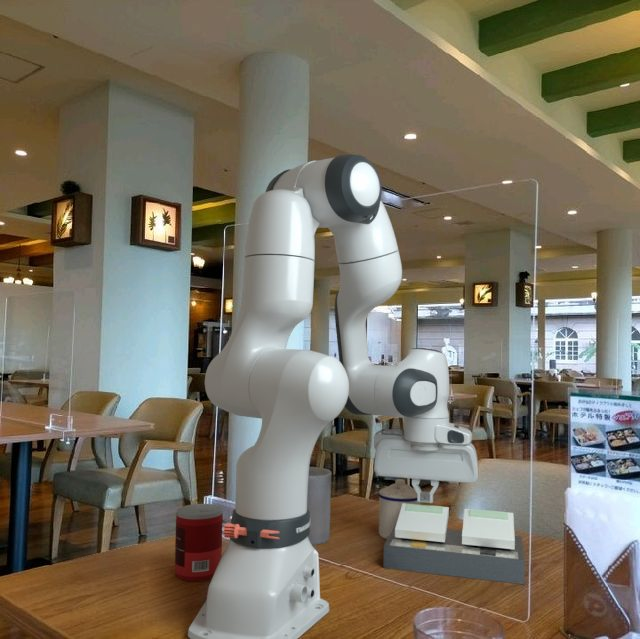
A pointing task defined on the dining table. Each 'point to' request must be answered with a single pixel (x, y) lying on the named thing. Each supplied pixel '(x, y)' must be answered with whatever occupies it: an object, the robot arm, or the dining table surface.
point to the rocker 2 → (488, 529)
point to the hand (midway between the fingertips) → (425, 502)
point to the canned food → (198, 541)
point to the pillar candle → (319, 504)
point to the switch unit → (455, 558)
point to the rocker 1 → (422, 522)
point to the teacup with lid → (393, 505)
